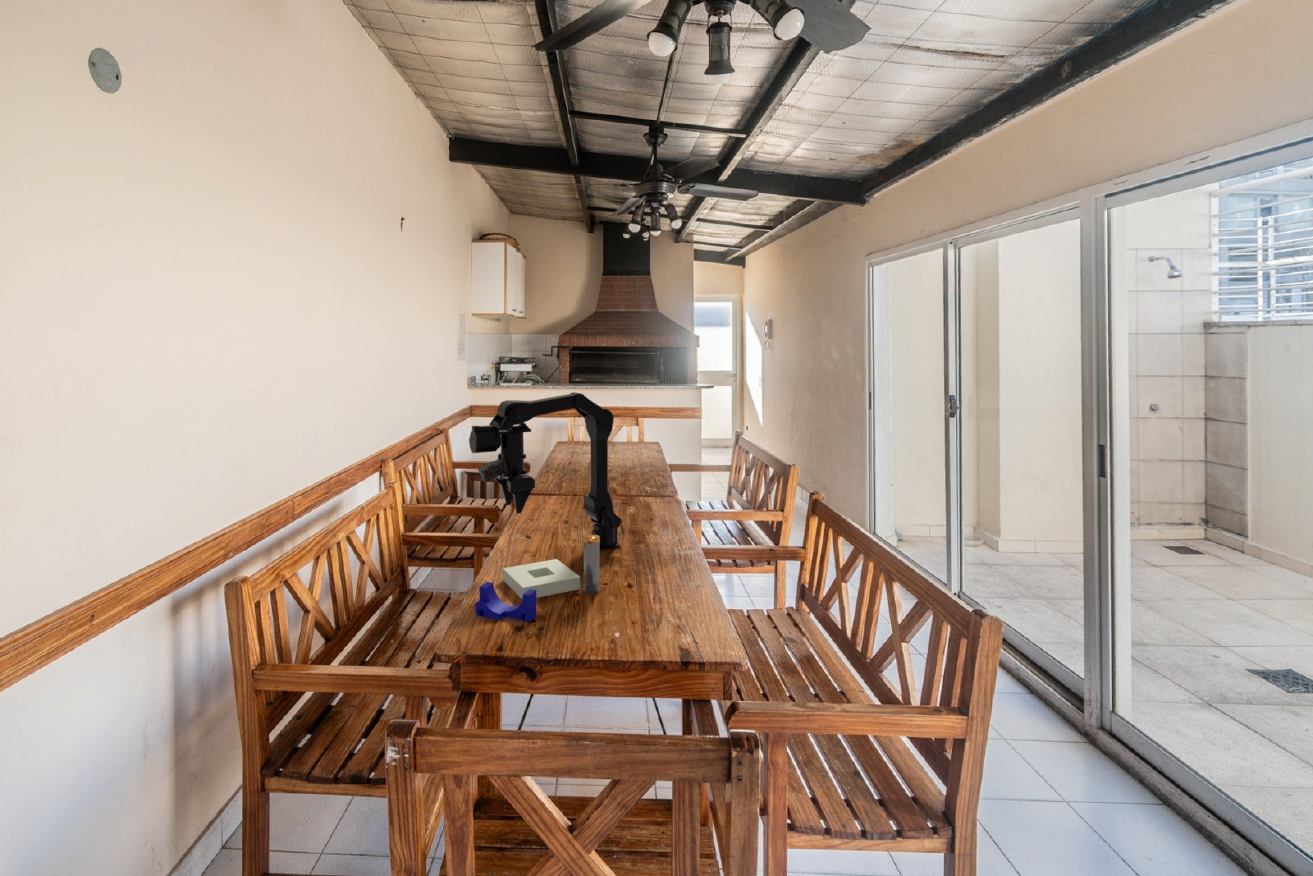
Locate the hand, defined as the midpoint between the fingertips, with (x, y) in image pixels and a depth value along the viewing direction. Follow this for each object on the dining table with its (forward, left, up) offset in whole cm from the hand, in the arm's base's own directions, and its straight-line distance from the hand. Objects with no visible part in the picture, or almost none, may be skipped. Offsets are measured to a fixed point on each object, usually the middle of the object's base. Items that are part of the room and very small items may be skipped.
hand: (513, 509), depth 165 cm
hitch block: (0, +18, -14) cm, 23 cm away
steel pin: (-9, +27, -14) cm, 32 cm away
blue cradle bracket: (+13, +31, -15) cm, 37 cm away
